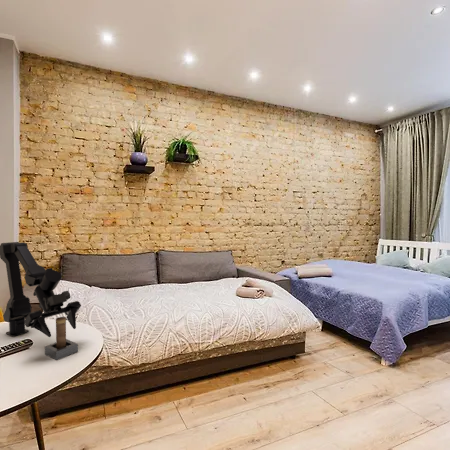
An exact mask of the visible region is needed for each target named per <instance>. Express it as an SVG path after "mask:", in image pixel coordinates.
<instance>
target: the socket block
mask: <svg viewBox="0 0 450 450" xmlns="http://www.w3.org/2000/svg"><path fill="white" fill-rule="evenodd" d="M78 352H79V344H78V343H76V342H74V341H72V340H70V339H67V338H66V347H63V348H60V349H56V342H53V343H50V344H48V345H44V355H45V356H47V357H49V358H51V359H53V360H55V361H58V360H60V359H63V358H65V357H68V356H71V355H73V354H75V353H78Z"/></svg>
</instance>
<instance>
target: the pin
mask: <svg viewBox="0 0 450 450" xmlns="http://www.w3.org/2000/svg"><path fill="white" fill-rule="evenodd" d="M66 317H67V316H66ZM66 317H65V316H59V317H56V318H55V332H56V333H55V337H56V338H55V339H56V340H55V341H56V342H55V343H56V349H60V348H63V347H66V339H67V318H66Z"/></svg>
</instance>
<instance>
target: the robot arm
mask: <svg viewBox="0 0 450 450" xmlns="http://www.w3.org/2000/svg"><path fill="white" fill-rule="evenodd" d="M28 247H29V246H28V243H26V242H19V241H14V242H13V241H12V242H11V241H10V242H2V243H0V260H2V262H4V264H5V268H6V269H5V270H6V275H7V282H8V283H7V284H8V288H9V295H10V297H9V299H8V301H7V302H6V309H5V311H4V313H3V315H2V318H3V321H4V322H6V323H8V325H9V326H8V327H9V328H8V330H9V331H6V332H5V333H6V334H7V335H8V336H11V337H16V336H19V335H22V334H25V333H26V334H27V333H29V332H30V331H29V330H28V329H26V328H31V329H35V330H37V331H40V333H42V334H44V335H45V336H47V337H48V338H51V337H52V333H51V331H50V329H49V326H48V325H47V323H46V318H50V317H53V316H57V315H61V314H65V316H66V321H68V323H69V324H70V326H71V327H72V329H73V330H75V329H76V328H77V321H76V318H77V317H76V315H77V313H78V311H79V310H80V308H81V307H82V305H81V304H82V303H81V302H80V300H79V301H78V300H74V301H71V302H68V300H70V299H71V294H70V292H69V290H64V291H63V292H61V293H59V294H57V293H56V294H55V292H54V290H55V289H56V288H57V286H59V283H60V281H61V280H62V278H63V277H62V274H61V272H59V271H57V270H55V269H53V267H48V268H45V267H44V266H42V265H40V264H38V263H37V261H36V259H35V258H34V256H33V255H32V252H31V251H30V249H29V248H28ZM20 265H21V266H22V268H23V270H24V271H25V275H24V280H25V283H26V285H27V286H28V287H35V288H34V290H33V294H32V295H33V296H34V297H36V299H37V301H38V304H39V305H38V307H39V309H42V310H39V309H38V310H35V311H32V304H31V302H30V301H31V300H30V298H29V297H27V296H26V295H25V294H24V289H23V288H24V286H23V282H22V281H23V280H22V276H21V275H22V274H21V267H20ZM66 302H68V304H66V306H65V307H63V306H64V303H66Z"/></svg>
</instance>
